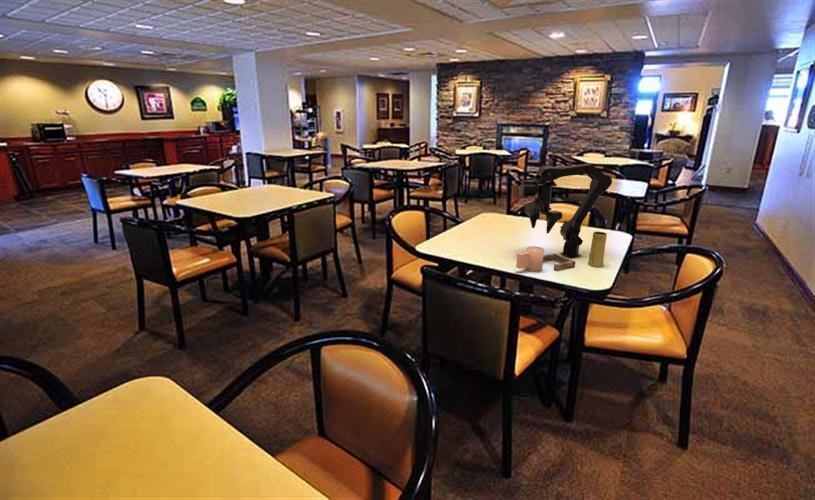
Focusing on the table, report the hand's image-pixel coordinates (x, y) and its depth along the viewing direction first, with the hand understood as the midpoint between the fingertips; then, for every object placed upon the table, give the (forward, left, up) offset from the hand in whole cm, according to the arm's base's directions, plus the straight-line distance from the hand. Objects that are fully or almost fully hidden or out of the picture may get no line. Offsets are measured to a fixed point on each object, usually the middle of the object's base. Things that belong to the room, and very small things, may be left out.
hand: (540, 230), depth 194 cm
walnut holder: (+2, +12, -12) cm, 17 cm away
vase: (-14, +20, -12) cm, 27 cm away
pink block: (+16, +12, -12) cm, 23 cm away
